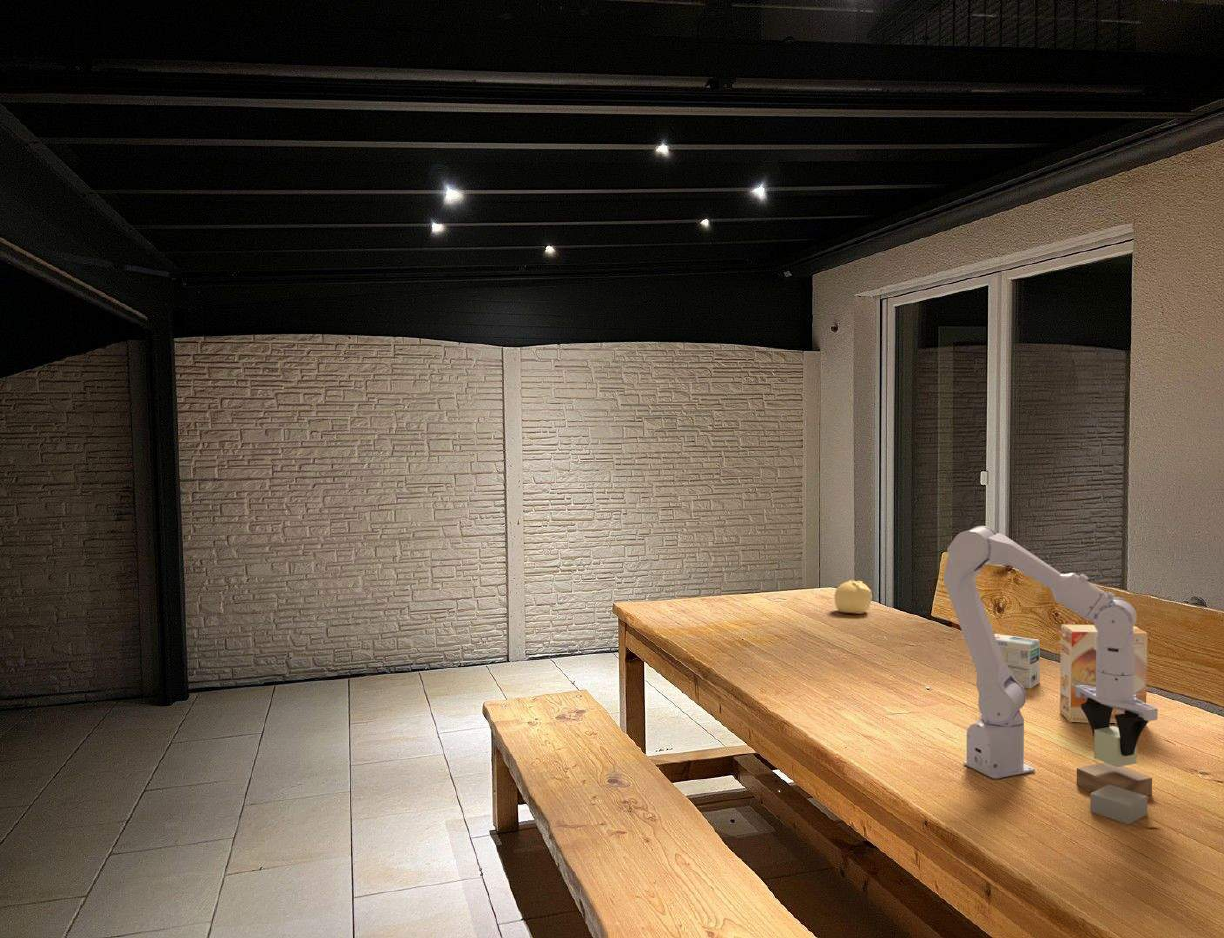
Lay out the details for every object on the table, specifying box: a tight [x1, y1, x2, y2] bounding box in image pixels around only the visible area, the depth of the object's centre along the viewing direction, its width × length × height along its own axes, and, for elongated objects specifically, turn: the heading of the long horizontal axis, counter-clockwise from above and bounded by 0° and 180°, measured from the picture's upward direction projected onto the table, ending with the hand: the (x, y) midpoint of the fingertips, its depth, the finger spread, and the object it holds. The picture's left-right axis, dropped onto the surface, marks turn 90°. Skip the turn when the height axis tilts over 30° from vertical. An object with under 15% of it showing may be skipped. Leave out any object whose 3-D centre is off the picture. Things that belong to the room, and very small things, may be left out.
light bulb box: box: [994, 633, 1041, 689], centre depth 218 cm, size 11×7×11 cm, turn 47°
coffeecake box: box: [1059, 624, 1148, 724], centre depth 191 cm, size 15×7×20 cm, turn 82°
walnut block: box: [1076, 762, 1153, 797], centre depth 155 cm, size 8×8×3 cm
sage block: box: [1093, 725, 1138, 767], centre depth 155 cm, size 4×4×5 cm
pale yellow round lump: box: [834, 579, 873, 615], centre depth 299 cm, size 11×12×11 cm
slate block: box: [1089, 785, 1148, 826], centre depth 146 cm, size 6×6×3 cm
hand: (1114, 749), depth 155 cm, fingers closed on sage block, 4 cm apart
